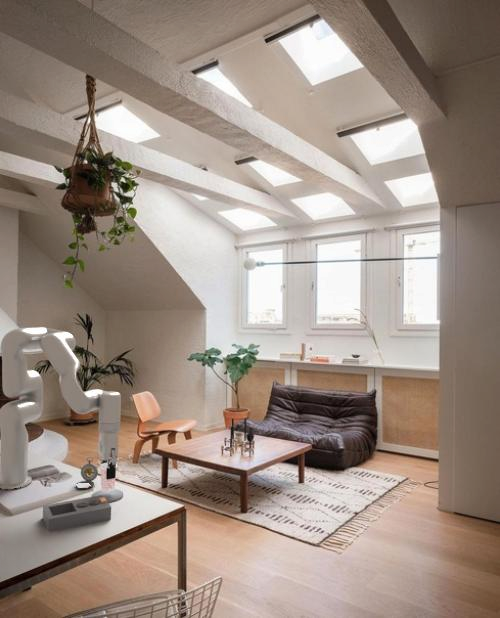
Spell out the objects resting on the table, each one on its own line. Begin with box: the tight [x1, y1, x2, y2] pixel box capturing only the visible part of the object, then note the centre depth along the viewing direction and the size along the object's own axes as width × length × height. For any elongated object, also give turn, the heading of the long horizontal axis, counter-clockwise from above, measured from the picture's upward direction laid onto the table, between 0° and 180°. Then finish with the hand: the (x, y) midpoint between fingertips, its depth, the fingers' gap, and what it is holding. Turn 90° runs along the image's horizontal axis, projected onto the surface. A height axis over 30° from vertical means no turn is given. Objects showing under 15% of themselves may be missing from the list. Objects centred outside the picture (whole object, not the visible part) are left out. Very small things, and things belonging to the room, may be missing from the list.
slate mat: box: [91, 488, 124, 504], centre depth 174 cm, size 11×11×1 cm
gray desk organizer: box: [42, 495, 112, 533], centre depth 156 cm, size 11×19×5 cm, turn 122°
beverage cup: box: [99, 461, 118, 492], centre depth 174 cm, size 6×6×14 cm
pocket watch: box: [76, 457, 99, 489], centre depth 184 cm, size 8×8×10 cm
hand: (108, 475), depth 174 cm, fingers closed on beverage cup, 6 cm apart
